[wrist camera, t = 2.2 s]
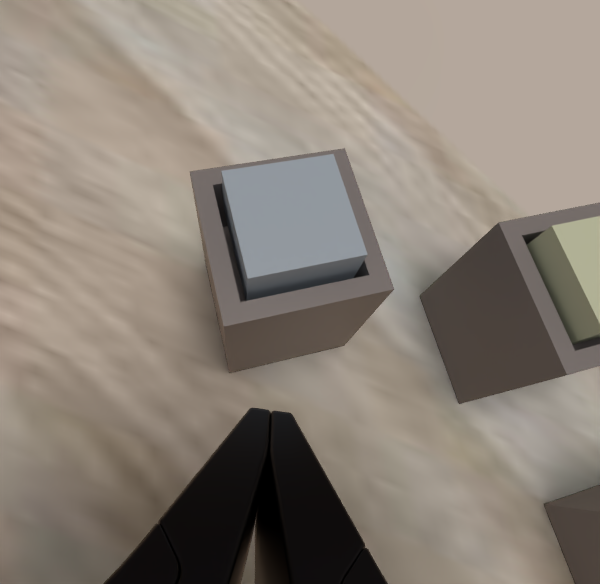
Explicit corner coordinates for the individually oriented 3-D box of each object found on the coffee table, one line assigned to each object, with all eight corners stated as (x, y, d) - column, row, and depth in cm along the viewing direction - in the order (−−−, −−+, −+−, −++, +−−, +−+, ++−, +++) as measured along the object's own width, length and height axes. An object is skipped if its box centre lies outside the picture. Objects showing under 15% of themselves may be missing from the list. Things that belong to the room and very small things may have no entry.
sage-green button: (640, 326, 18) (699, 306, 16) (555, 349, 17) (603, 331, 15) (594, 237, 19) (642, 207, 17) (513, 255, 19) (552, 225, 16)
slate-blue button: (350, 282, 17) (367, 254, 15) (246, 304, 17) (247, 278, 14) (321, 192, 19) (333, 153, 16) (223, 209, 18) (221, 170, 15)
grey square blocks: (706, 601, 22) (967, 679, 14) (315, 770, 18) (374, 1009, 10) (518, 204, 28) (623, 106, 20) (205, 263, 24) (189, 171, 17)
